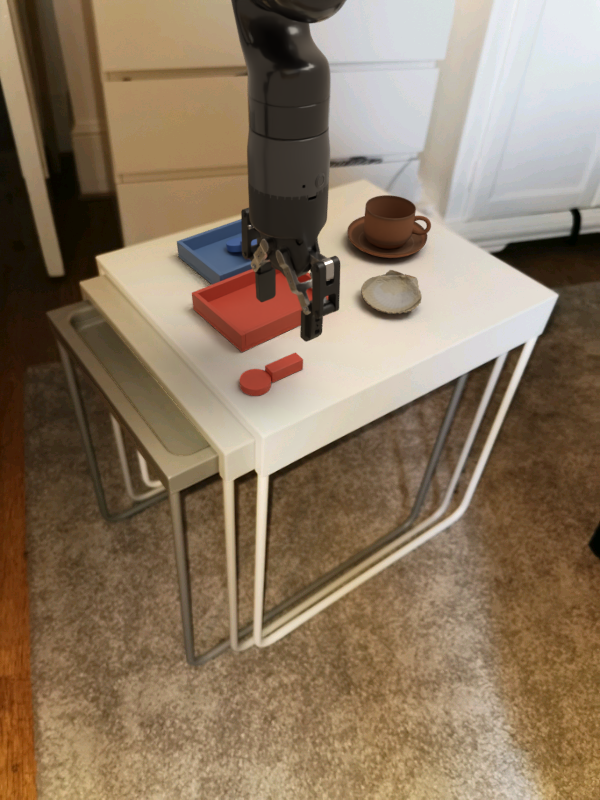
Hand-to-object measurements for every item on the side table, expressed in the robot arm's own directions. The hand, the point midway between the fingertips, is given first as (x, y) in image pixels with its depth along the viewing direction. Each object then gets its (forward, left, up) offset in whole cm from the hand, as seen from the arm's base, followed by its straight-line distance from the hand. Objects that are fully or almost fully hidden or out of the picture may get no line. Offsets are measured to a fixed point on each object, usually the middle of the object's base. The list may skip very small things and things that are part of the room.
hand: (287, 317), depth 70 cm
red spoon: (-2, +1, -8) cm, 8 cm away
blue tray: (+17, +20, -8) cm, 27 cm away
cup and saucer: (+33, +5, -8) cm, 34 cm away
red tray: (+9, +10, -8) cm, 15 cm away
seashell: (+20, -3, -8) cm, 22 cm away
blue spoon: (+17, +19, -6) cm, 26 cm away
